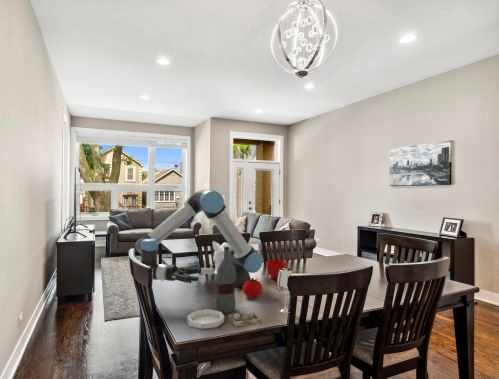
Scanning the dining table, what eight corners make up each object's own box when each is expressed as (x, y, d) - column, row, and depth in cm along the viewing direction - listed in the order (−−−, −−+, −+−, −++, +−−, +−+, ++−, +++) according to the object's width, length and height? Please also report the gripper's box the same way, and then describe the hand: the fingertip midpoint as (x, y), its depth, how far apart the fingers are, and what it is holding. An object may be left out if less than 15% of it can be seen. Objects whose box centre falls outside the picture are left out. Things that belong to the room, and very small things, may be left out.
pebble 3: (252, 317, 150) (252, 310, 150) (254, 319, 148) (254, 312, 147) (245, 317, 149) (245, 311, 149) (248, 320, 146) (248, 313, 146)
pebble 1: (238, 318, 148) (238, 311, 148) (241, 321, 146) (241, 314, 145) (232, 319, 147) (232, 312, 147) (234, 322, 144) (234, 315, 144)
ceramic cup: (280, 283, 206) (281, 266, 205) (261, 277, 218) (262, 261, 218) (294, 279, 214) (295, 263, 214) (275, 273, 227) (276, 259, 227)
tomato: (239, 295, 182) (240, 276, 182) (257, 293, 186) (257, 275, 186) (246, 301, 172) (247, 282, 172) (265, 299, 176) (265, 280, 176)
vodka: (217, 306, 164) (218, 245, 163) (236, 307, 164) (237, 245, 163) (214, 314, 154) (215, 248, 154) (234, 314, 154) (235, 249, 154)
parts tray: (253, 316, 153) (253, 311, 153) (261, 324, 144) (261, 319, 144) (228, 319, 148) (228, 315, 148) (234, 327, 140) (234, 323, 140)
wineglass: (275, 308, 162) (275, 267, 162) (291, 308, 163) (291, 267, 163) (277, 315, 155) (278, 271, 154) (294, 314, 155) (295, 271, 155)
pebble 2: (246, 319, 147) (247, 313, 147) (249, 322, 144) (249, 315, 144) (240, 320, 146) (240, 313, 146) (242, 323, 143) (242, 316, 143)
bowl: (217, 313, 155) (218, 308, 155) (227, 326, 141) (227, 320, 141) (185, 317, 150) (185, 311, 150) (191, 331, 136) (191, 325, 136)
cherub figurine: (226, 271, 232) (227, 239, 232) (232, 275, 221) (233, 242, 221) (209, 272, 228) (210, 239, 228) (214, 277, 216) (215, 242, 216)
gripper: (177, 273, 176) (216, 276, 172) (156, 288, 151) (201, 291, 148) (177, 259, 176) (216, 261, 172) (156, 271, 151) (202, 274, 147)
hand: (210, 275), depth 160 cm, fingers open, 13 cm apart
